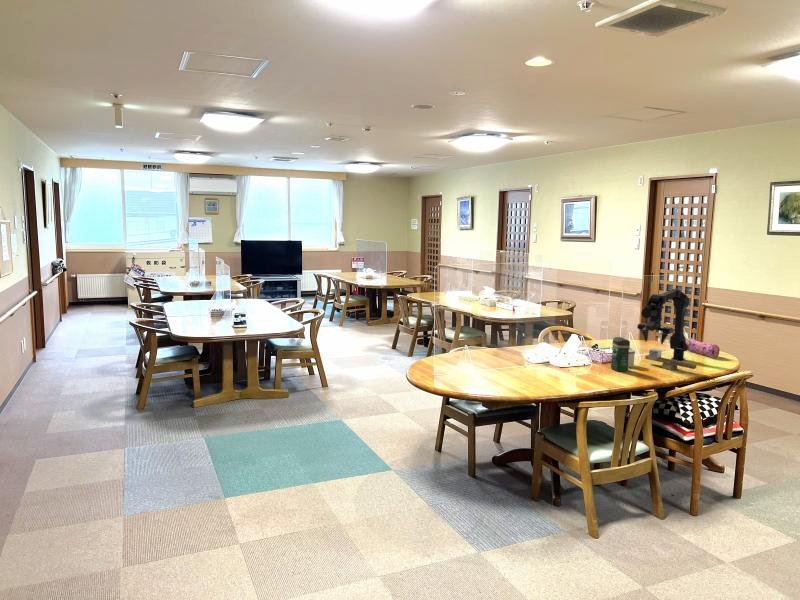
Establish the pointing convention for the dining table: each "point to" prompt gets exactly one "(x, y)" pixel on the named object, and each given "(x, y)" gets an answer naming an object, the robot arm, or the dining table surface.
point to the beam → (673, 363)
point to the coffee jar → (620, 354)
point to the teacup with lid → (631, 357)
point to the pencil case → (703, 348)
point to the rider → (654, 354)
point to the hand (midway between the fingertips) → (653, 342)
